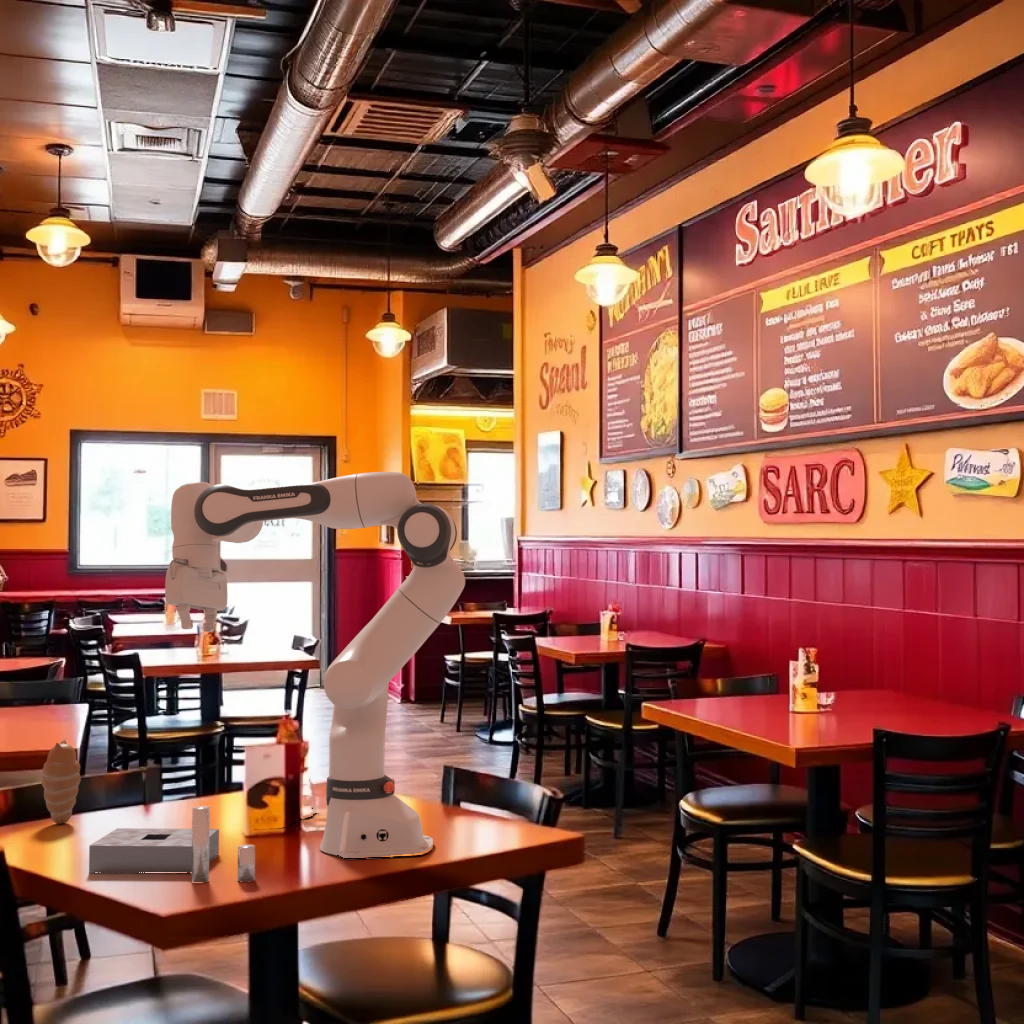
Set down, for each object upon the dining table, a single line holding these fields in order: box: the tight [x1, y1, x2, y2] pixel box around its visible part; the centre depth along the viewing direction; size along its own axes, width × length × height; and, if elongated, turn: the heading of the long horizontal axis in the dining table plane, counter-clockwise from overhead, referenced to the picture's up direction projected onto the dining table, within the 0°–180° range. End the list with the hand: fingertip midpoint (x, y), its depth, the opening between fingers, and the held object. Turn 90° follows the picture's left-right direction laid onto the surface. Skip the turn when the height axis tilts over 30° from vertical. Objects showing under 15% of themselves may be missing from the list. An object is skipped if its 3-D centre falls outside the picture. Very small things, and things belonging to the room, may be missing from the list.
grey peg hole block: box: [88, 827, 220, 874], centre depth 219 cm, size 20×14×5 cm
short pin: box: [237, 844, 256, 883], centre depth 208 cm, size 3×3×6 cm
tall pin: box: [191, 805, 211, 882], centre depth 207 cm, size 3×3×13 cm
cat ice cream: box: [41, 739, 82, 825], centre depth 253 cm, size 9×8×18 cm
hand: (198, 630), depth 232 cm, fingers open, 8 cm apart
